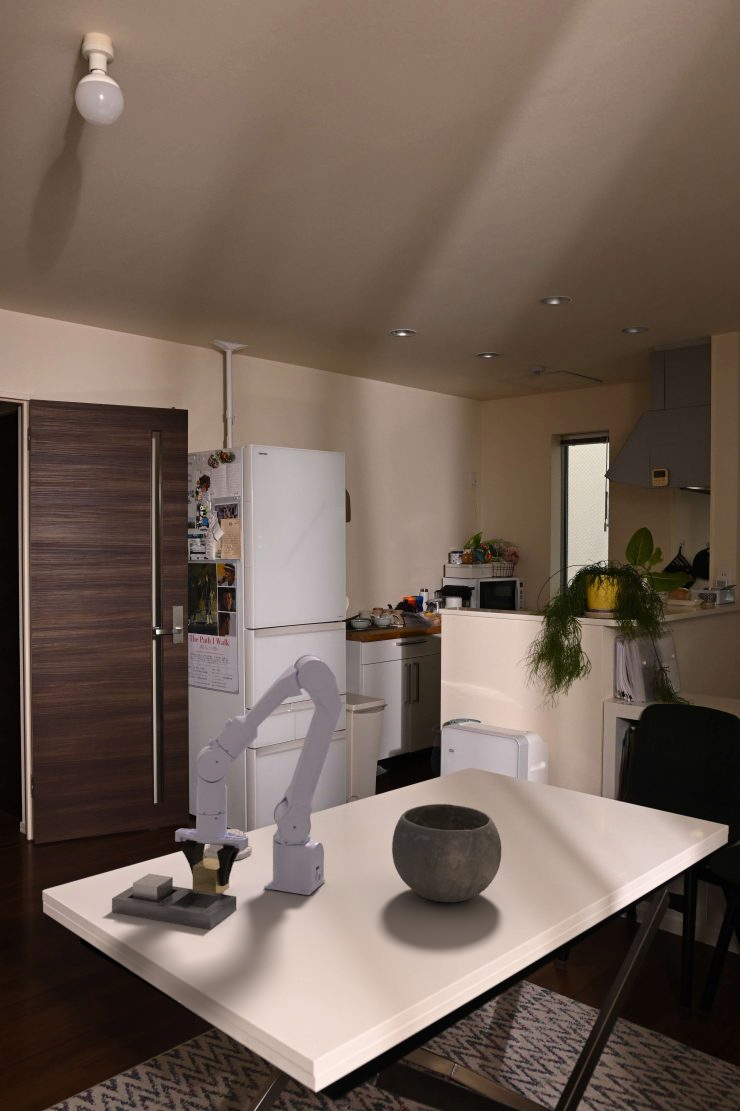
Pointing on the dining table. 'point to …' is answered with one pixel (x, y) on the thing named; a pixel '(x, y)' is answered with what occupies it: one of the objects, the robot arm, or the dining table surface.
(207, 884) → the brushed gold cube
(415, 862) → the bowl
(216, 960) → the dining table surface
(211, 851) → the mechanical component
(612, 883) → the dining table surface
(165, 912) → the grey tray
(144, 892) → the silver gray cube
